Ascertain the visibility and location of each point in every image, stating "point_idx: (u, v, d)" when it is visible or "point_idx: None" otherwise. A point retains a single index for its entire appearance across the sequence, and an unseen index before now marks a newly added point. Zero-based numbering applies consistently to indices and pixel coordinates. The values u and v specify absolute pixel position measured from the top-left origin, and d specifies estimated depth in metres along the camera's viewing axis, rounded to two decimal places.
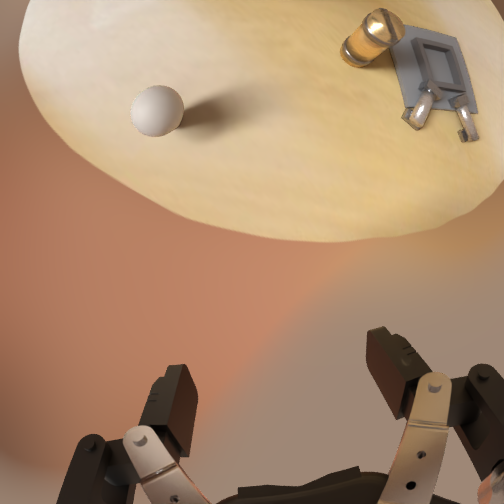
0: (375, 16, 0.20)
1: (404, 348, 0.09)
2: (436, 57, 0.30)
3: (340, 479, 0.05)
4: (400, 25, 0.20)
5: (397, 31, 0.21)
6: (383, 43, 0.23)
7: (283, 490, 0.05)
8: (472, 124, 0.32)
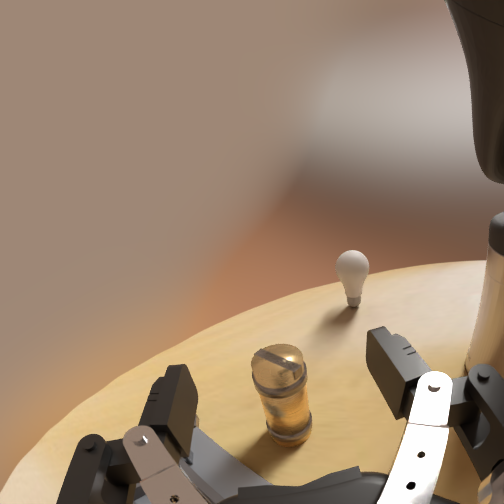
0: (295, 352, 0.24)
1: (404, 348, 0.09)
2: None
3: (340, 479, 0.05)
4: (263, 370, 0.22)
5: (261, 361, 0.24)
6: None
7: (283, 490, 0.05)
8: None
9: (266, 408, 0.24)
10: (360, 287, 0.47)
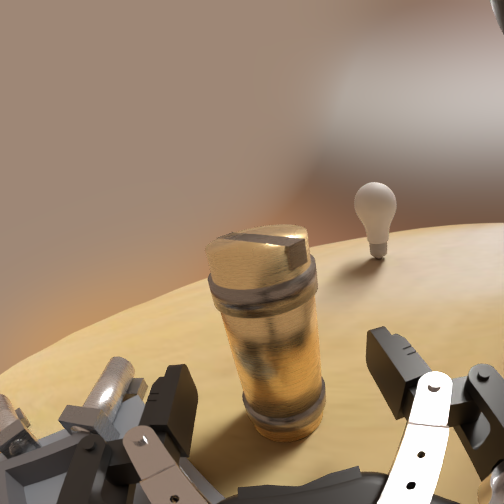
0: (292, 229, 0.13)
1: (404, 348, 0.09)
2: None
3: (340, 479, 0.05)
4: (223, 250, 0.12)
5: (226, 242, 0.13)
6: None
7: (283, 490, 0.05)
8: None
9: (235, 352, 0.13)
10: (386, 229, 0.35)
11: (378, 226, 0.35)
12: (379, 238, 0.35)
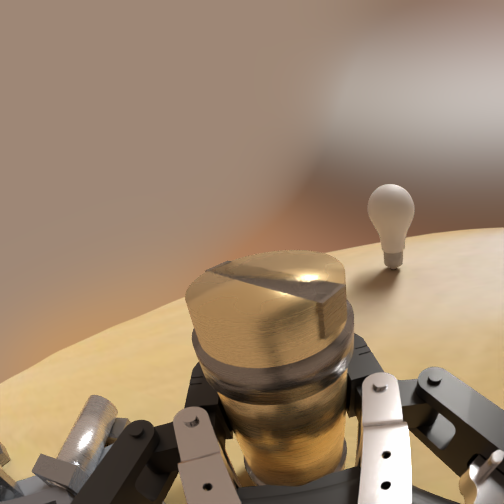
0: (319, 261, 0.08)
1: (359, 347, 0.10)
2: None
3: (340, 479, 0.05)
4: (213, 302, 0.07)
5: (219, 281, 0.08)
6: None
7: (283, 490, 0.05)
8: None
9: (234, 428, 0.08)
10: (403, 237, 0.31)
11: (395, 234, 0.30)
12: (395, 247, 0.31)
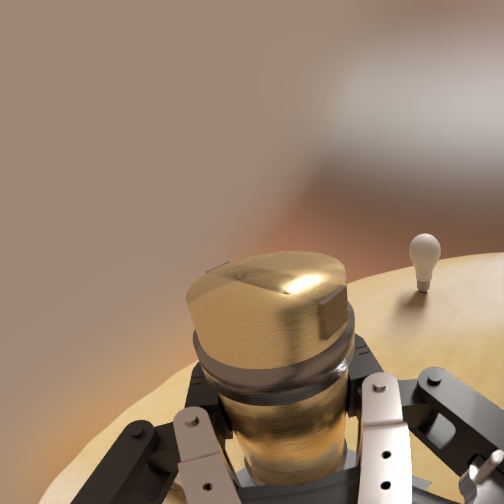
0: (320, 262, 0.08)
1: (359, 347, 0.10)
2: None
3: (340, 479, 0.05)
4: (214, 303, 0.07)
5: (219, 282, 0.08)
6: None
7: (283, 490, 0.05)
8: None
9: (235, 429, 0.08)
10: (432, 271, 0.42)
11: (427, 269, 0.41)
12: (426, 277, 0.42)
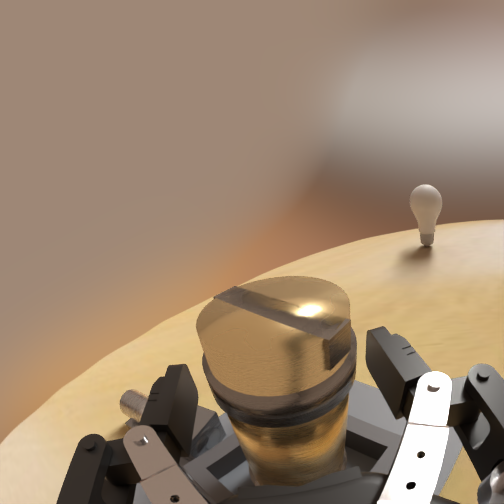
0: (325, 291, 0.09)
1: (404, 348, 0.09)
2: None
3: (340, 479, 0.05)
4: (225, 335, 0.07)
5: (228, 311, 0.09)
6: None
7: (283, 490, 0.05)
8: None
9: (242, 444, 0.08)
10: (435, 222, 0.40)
11: (429, 220, 0.39)
12: (429, 229, 0.40)
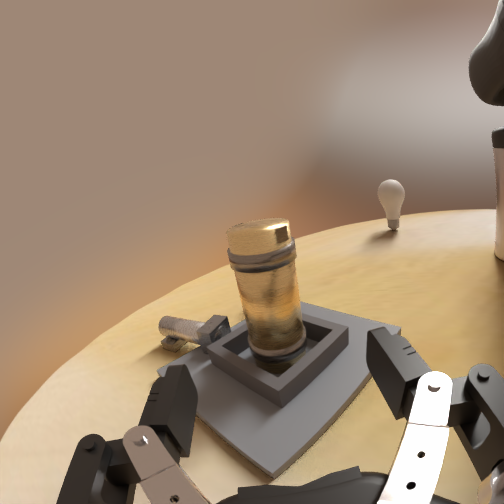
0: (280, 220, 0.21)
1: (404, 348, 0.09)
2: None
3: (340, 479, 0.05)
4: (238, 232, 0.19)
5: (239, 228, 0.21)
6: None
7: (283, 490, 0.05)
8: (180, 320, 0.29)
9: (244, 300, 0.21)
10: (399, 210, 0.52)
11: (393, 207, 0.52)
12: (394, 216, 0.53)
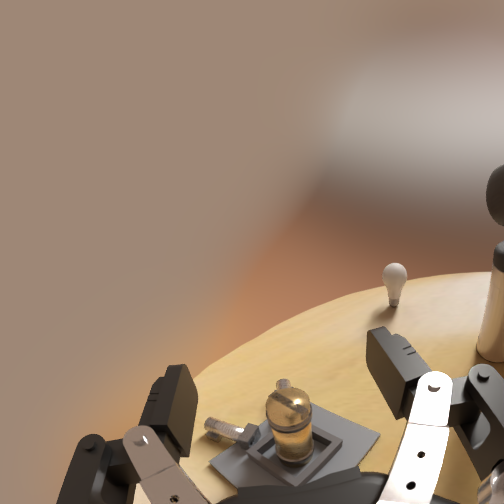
0: (303, 396, 0.26)
1: (404, 348, 0.09)
2: None
3: (340, 479, 0.05)
4: (275, 412, 0.25)
5: (274, 403, 0.26)
6: None
7: (283, 490, 0.05)
8: (221, 424, 0.35)
9: (276, 438, 0.26)
10: (400, 291, 0.58)
11: (395, 290, 0.57)
12: (395, 296, 0.58)
